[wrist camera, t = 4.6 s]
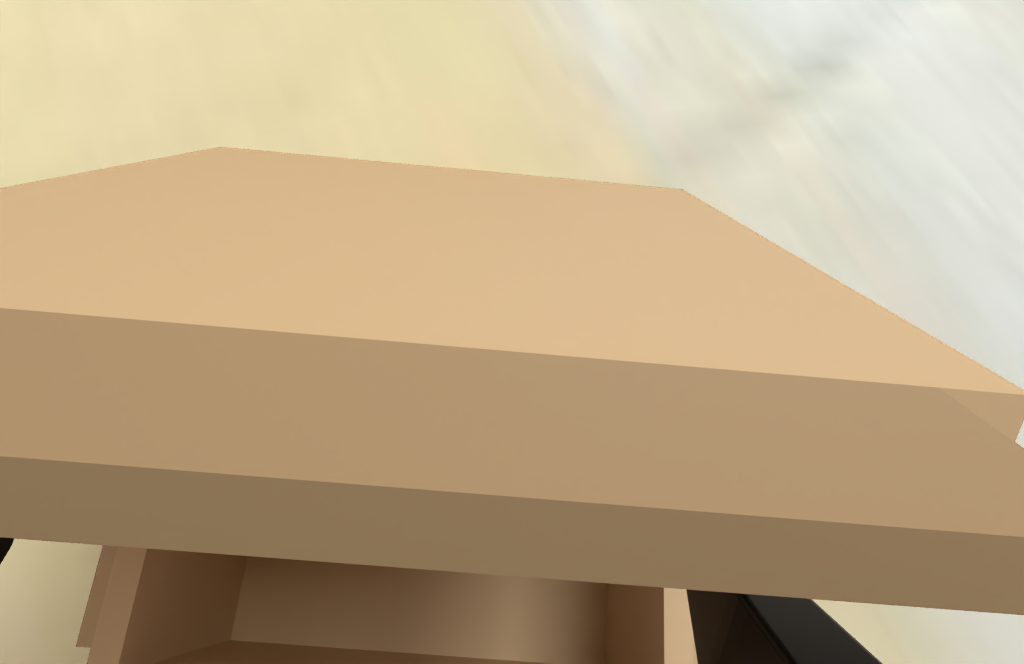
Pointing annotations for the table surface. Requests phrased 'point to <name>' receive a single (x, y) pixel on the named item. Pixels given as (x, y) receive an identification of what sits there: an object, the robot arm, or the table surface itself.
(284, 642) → the carton
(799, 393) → the carton flap
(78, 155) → the table surface
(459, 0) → the table surface
